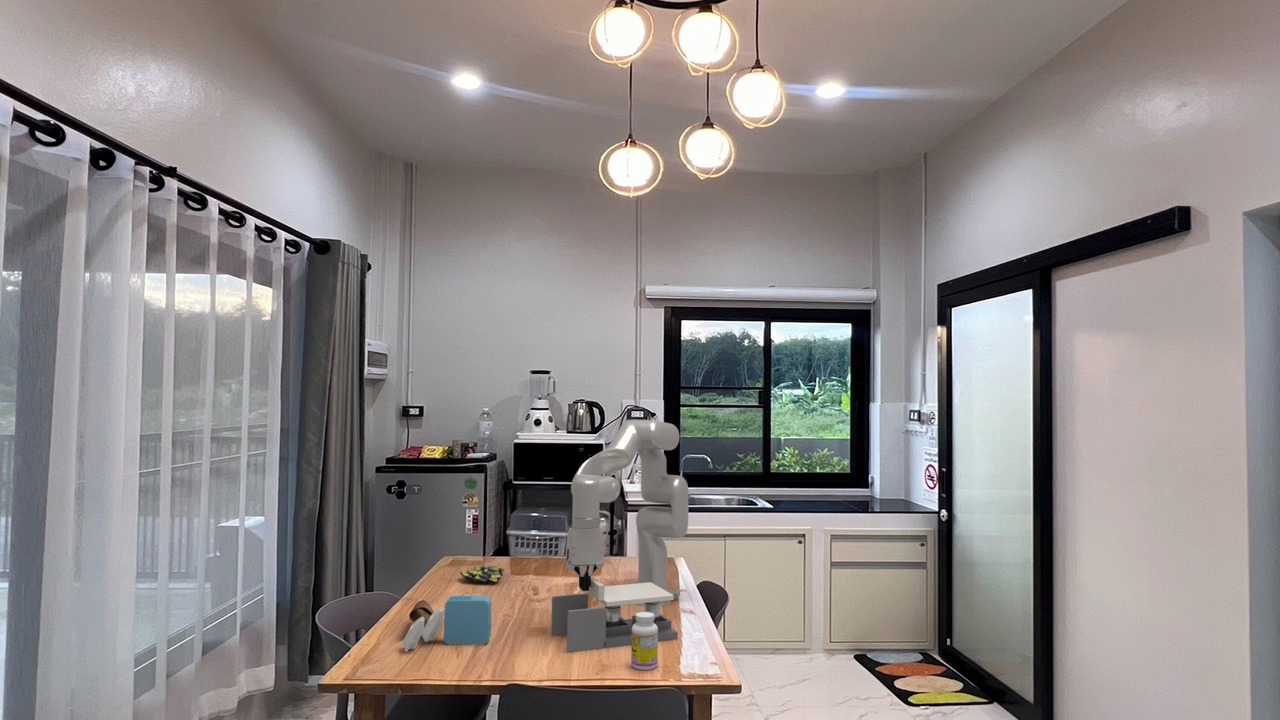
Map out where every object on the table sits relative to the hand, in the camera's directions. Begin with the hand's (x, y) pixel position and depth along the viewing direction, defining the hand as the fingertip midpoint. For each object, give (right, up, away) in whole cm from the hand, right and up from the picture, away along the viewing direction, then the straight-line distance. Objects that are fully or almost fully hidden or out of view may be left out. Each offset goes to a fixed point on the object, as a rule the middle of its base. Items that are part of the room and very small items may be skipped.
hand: (584, 589), depth 207 cm
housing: (+8, -14, +3) cm, 16 cm away
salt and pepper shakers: (-45, -12, -7) cm, 47 cm away
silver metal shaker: (+19, -13, +7) cm, 24 cm away
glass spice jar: (+8, -12, +3) cm, 15 cm away
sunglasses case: (-46, -13, +5) cm, 48 cm away
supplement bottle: (+16, -13, -20) cm, 29 cm away
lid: (+12, -3, +5) cm, 13 cm away
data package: (-32, -14, -4) cm, 35 cm away
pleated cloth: (-42, -18, +69) cm, 83 cm away
